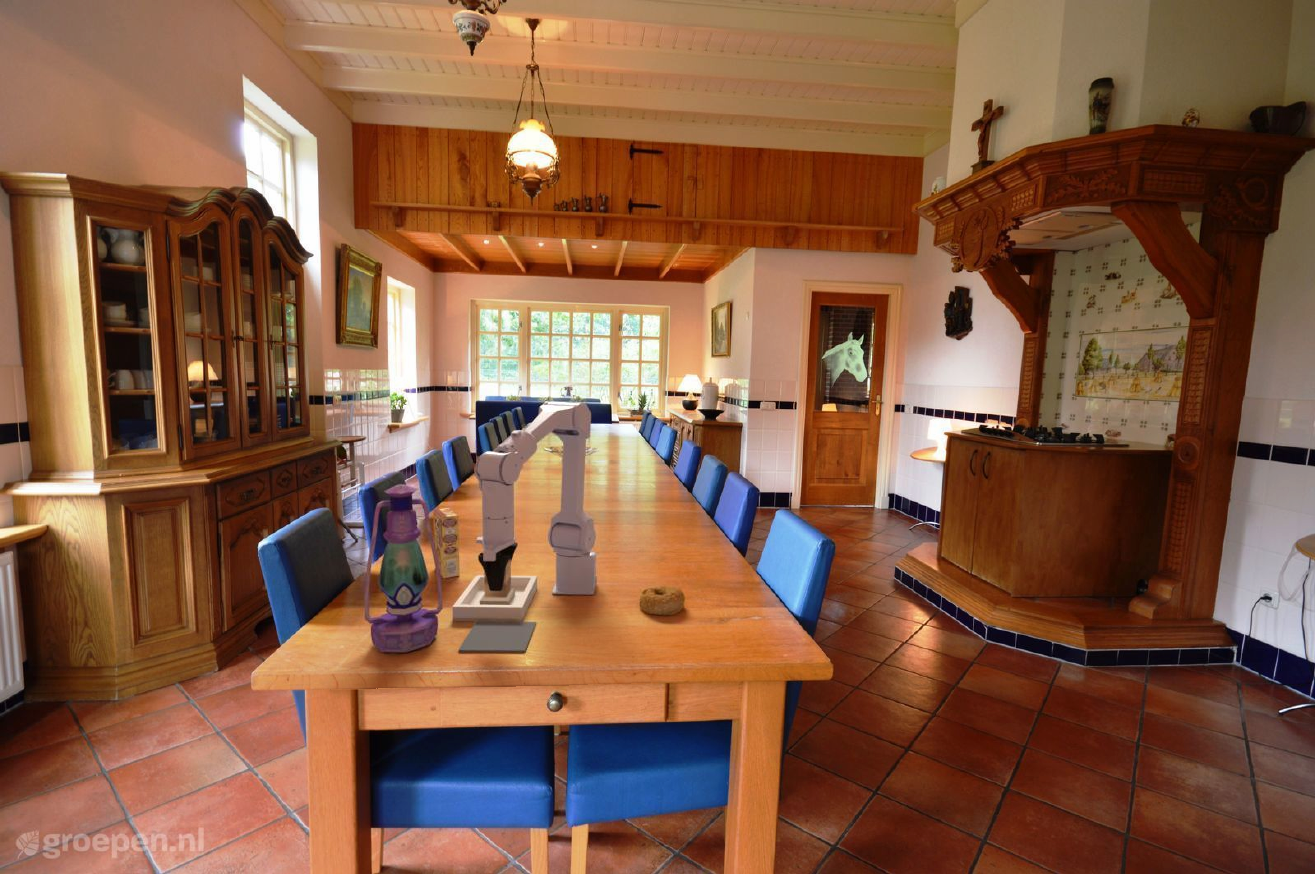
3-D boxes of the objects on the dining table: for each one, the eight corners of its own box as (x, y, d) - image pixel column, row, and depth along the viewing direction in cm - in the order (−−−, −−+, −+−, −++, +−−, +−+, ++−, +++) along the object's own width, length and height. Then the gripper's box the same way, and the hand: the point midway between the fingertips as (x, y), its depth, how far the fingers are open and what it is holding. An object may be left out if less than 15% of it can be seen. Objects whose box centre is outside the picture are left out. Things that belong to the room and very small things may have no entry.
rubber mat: (536, 623, 120) (536, 621, 120) (525, 652, 109) (525, 650, 108) (476, 623, 120) (476, 621, 120) (458, 651, 108) (458, 649, 108)
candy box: (460, 576, 146) (459, 515, 144) (442, 579, 143) (441, 517, 142) (450, 565, 153) (449, 507, 151) (433, 568, 151) (432, 509, 149)
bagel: (677, 596, 137) (677, 576, 136) (690, 616, 126) (690, 595, 125) (634, 599, 135) (634, 579, 134) (644, 621, 124) (644, 599, 123)
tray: (537, 588, 139) (537, 575, 139) (522, 621, 121) (522, 607, 121) (476, 587, 139) (476, 575, 138) (452, 620, 121) (452, 606, 120)
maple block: (510, 589, 115) (510, 559, 114) (506, 597, 111) (506, 566, 110) (490, 589, 115) (489, 559, 114) (484, 597, 111) (484, 566, 110)
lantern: (364, 662, 104) (358, 493, 100) (367, 633, 114) (361, 480, 111) (445, 649, 109) (441, 488, 105) (440, 623, 120) (437, 476, 116)
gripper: (486, 505, 118) (487, 571, 120) (465, 525, 104) (466, 600, 106) (522, 506, 119) (522, 572, 120) (506, 526, 104) (506, 600, 106)
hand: (498, 585), depth 113 cm, fingers closed on maple block, 4 cm apart
